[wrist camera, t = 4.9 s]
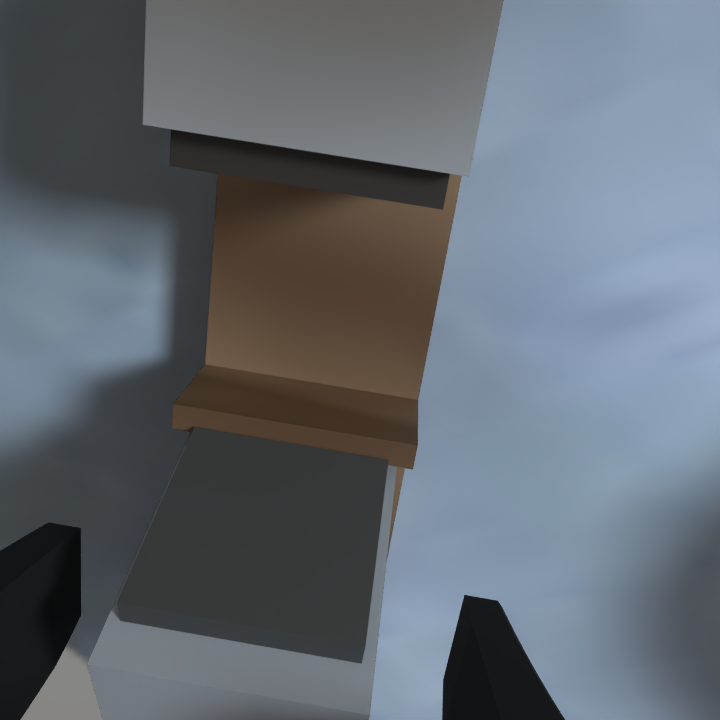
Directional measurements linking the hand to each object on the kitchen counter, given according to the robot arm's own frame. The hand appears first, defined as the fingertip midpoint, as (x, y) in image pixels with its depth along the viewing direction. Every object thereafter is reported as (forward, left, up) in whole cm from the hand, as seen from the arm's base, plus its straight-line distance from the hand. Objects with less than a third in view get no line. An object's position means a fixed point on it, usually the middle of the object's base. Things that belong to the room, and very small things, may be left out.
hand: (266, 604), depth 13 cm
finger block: (+1, 0, -2) cm, 2 cm away
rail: (+5, 0, -4) cm, 6 cm away
